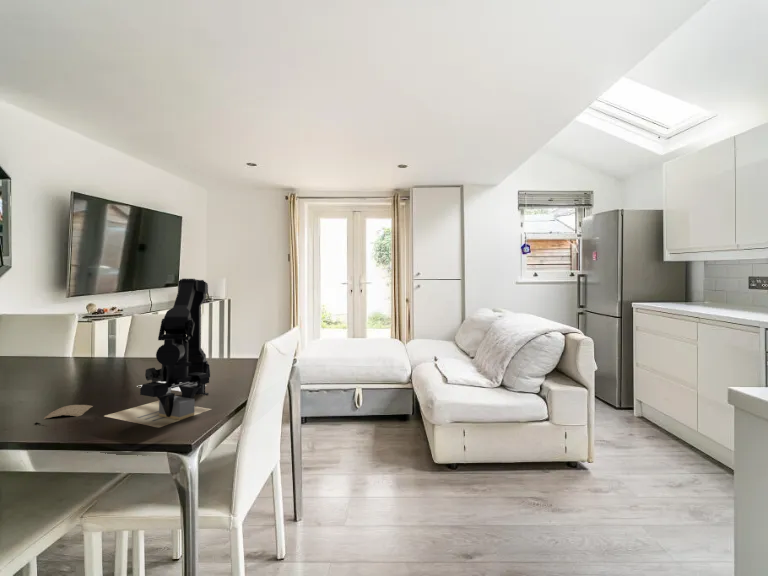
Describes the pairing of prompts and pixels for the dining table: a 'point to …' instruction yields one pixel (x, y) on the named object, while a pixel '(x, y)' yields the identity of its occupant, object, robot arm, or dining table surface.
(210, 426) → the dining table surface
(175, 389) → the paper sheet
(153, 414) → the plywood board
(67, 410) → the clay tablet
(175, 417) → the block
